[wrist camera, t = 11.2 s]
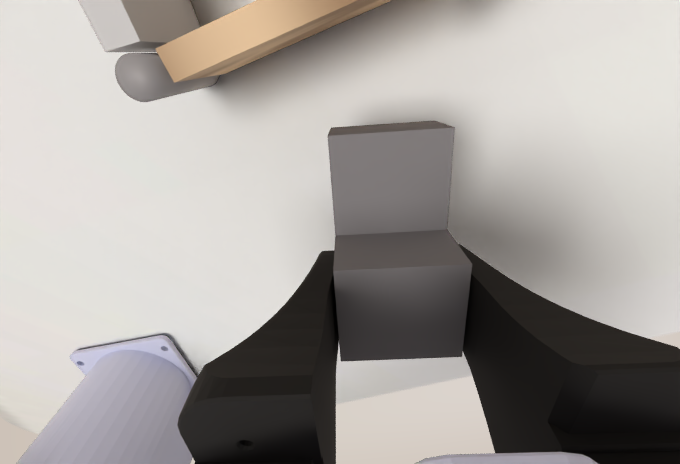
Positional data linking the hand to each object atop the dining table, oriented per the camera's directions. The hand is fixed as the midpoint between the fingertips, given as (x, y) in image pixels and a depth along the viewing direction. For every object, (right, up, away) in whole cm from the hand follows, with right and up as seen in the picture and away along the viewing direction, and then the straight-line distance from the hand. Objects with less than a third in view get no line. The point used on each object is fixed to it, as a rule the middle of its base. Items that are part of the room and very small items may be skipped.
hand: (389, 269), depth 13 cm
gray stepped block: (0, +2, +1) cm, 3 cm away
